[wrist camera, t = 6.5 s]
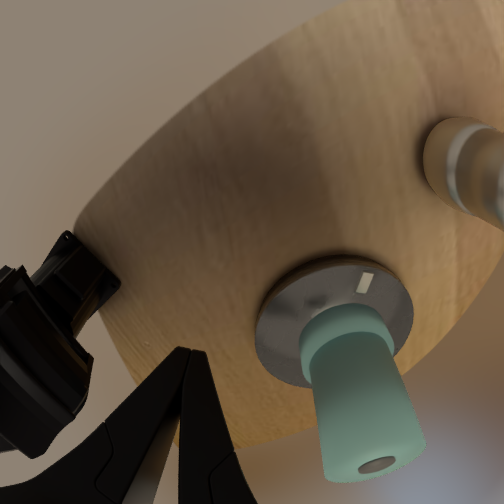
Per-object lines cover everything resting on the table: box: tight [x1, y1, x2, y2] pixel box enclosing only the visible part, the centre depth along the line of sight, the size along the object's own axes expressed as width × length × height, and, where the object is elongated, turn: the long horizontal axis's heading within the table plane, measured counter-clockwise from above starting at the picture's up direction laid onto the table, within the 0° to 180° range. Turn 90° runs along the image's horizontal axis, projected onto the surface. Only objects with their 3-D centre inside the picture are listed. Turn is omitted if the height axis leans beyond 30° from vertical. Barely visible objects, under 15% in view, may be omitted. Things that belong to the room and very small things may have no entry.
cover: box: [299, 303, 426, 483], centre depth 17 cm, size 7×7×11 cm
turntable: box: [255, 260, 414, 388], centre depth 23 cm, size 13×13×1 cm
